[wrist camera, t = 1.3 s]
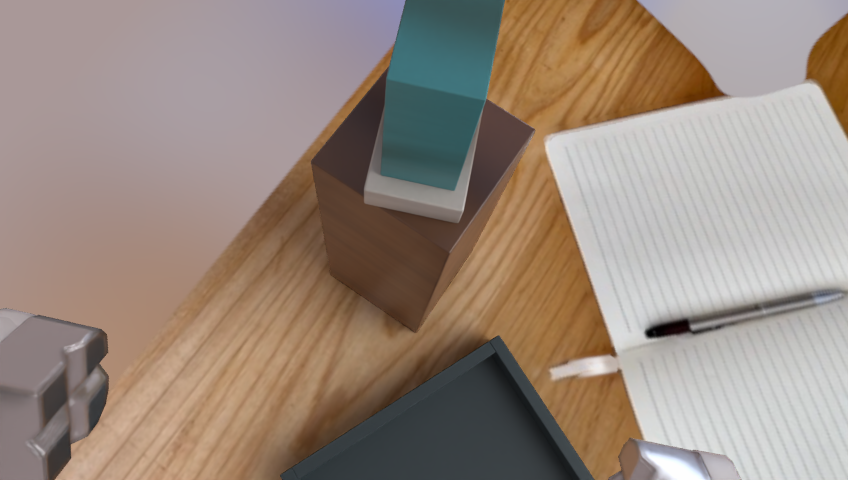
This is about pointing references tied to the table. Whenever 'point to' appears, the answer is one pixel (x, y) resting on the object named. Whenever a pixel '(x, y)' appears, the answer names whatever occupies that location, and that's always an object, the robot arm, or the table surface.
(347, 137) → the stand
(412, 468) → the tray
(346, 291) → the table surface
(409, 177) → the eraser
